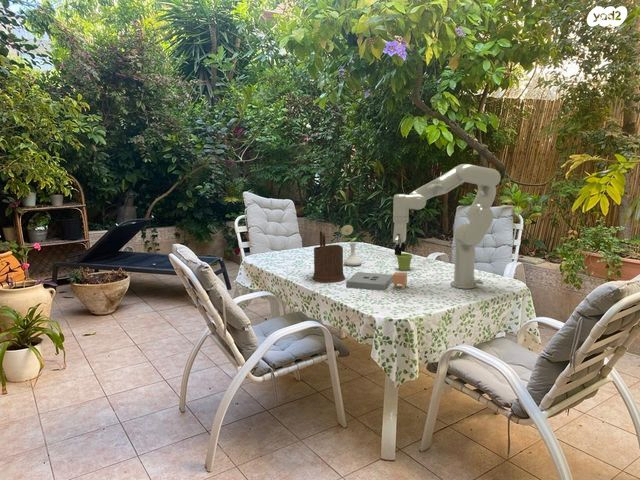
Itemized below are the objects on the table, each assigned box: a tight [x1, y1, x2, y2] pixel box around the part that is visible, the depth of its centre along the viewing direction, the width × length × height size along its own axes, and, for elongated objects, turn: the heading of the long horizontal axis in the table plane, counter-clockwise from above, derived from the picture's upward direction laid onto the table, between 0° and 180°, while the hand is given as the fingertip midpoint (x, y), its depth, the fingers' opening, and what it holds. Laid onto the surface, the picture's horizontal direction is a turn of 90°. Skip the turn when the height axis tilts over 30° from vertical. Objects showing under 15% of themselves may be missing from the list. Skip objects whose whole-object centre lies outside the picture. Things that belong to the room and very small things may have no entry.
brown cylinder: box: [312, 230, 346, 284], centre depth 245 cm, size 18×24×25 cm
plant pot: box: [395, 253, 413, 272], centre depth 260 cm, size 9×9×9 cm
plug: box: [392, 271, 408, 290], centre depth 225 cm, size 6×6×7 cm
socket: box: [345, 271, 393, 291], centre depth 233 cm, size 20×20×3 cm
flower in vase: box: [340, 224, 363, 267], centre depth 273 cm, size 13×11×25 cm
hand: (399, 253), depth 222 cm, fingers open, 9 cm apart
